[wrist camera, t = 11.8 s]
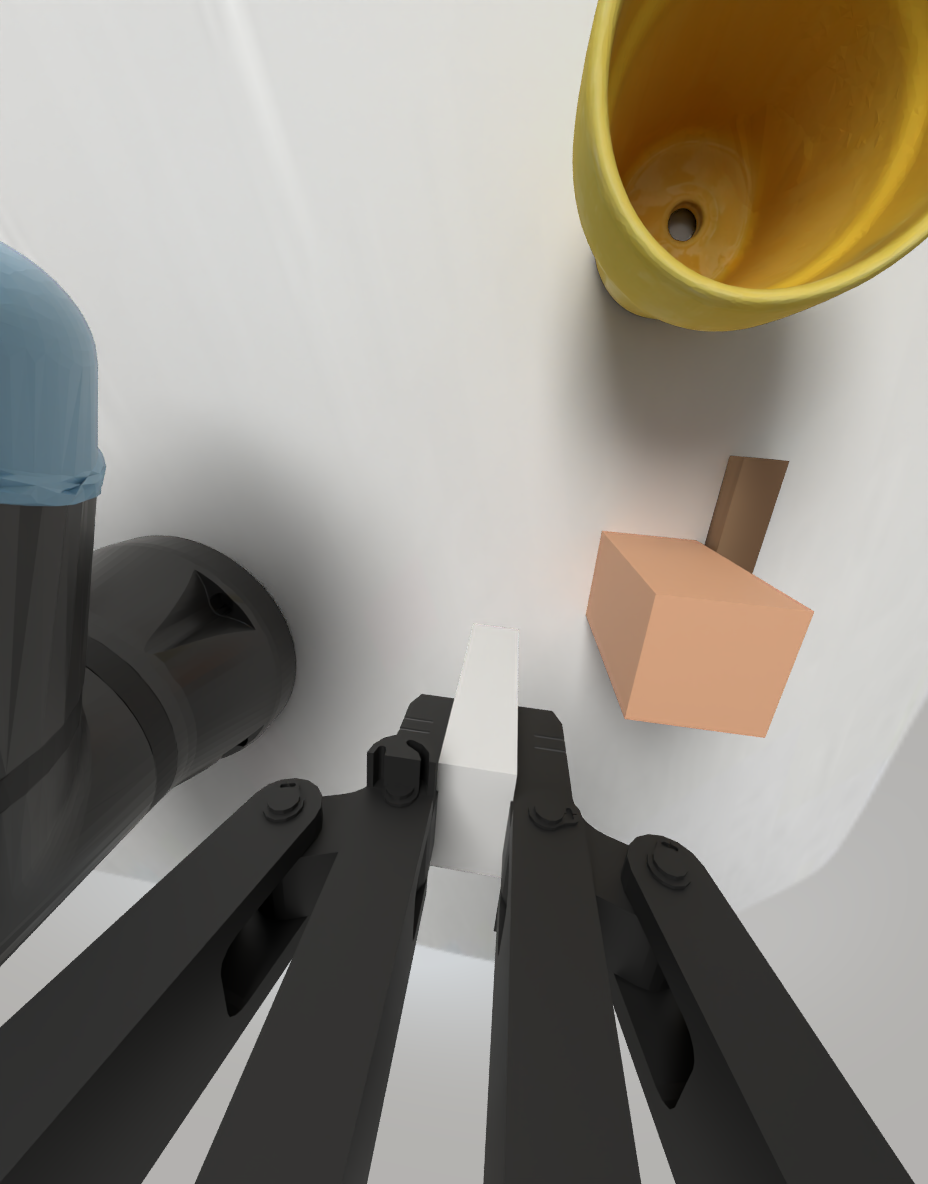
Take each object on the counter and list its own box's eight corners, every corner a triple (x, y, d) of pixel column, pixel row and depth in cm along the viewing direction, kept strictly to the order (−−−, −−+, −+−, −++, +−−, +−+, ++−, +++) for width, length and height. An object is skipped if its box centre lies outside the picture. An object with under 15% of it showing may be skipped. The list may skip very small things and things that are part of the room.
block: (585, 614, 26) (624, 718, 16) (601, 530, 24) (655, 593, 15) (673, 624, 25) (764, 737, 16) (696, 540, 24) (814, 611, 14)
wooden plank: (662, 694, 27) (670, 708, 25) (730, 455, 22) (744, 457, 20) (696, 698, 27) (706, 713, 25) (771, 459, 22) (789, 461, 20)
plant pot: (835, 56, 17) (1214, -391, 8) (775, 358, 20) (985, 299, 11) (560, 85, 18) (605, -272, 9) (548, 367, 22) (572, 319, 12)
